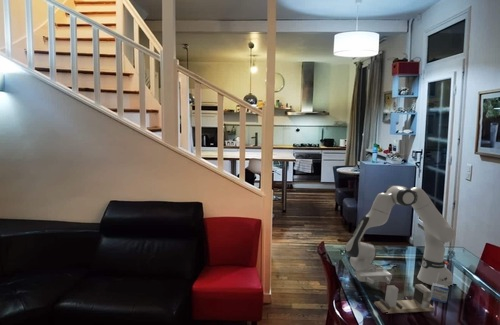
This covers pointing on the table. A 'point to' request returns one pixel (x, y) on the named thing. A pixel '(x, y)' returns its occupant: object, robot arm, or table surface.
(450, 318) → the table surface
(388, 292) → the white tall block
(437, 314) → the table surface
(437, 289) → the medicine box
